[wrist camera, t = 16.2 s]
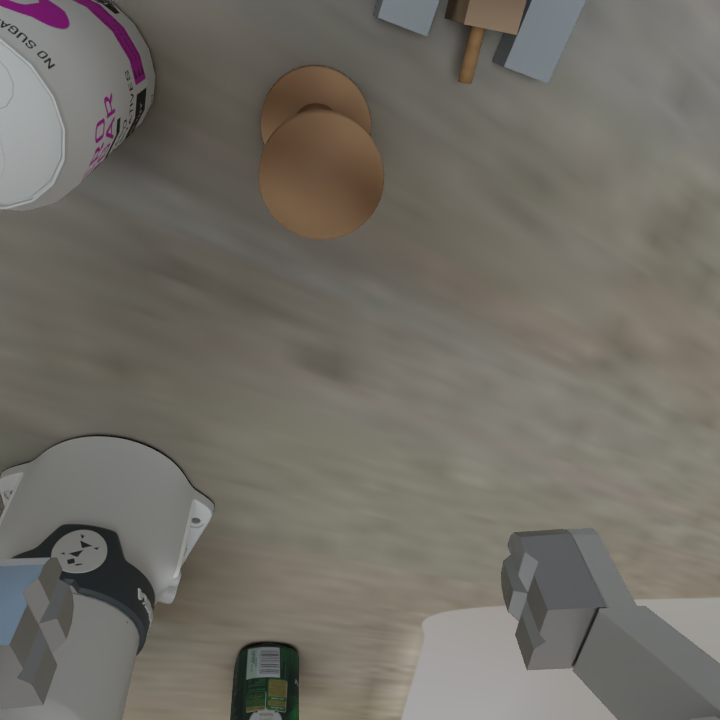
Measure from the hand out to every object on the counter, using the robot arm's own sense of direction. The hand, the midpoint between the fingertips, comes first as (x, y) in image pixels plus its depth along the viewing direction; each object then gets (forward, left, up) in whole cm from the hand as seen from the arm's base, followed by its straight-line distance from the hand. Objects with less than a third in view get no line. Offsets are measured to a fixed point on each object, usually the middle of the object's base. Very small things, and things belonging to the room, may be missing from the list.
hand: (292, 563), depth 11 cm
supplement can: (0, +13, -33) cm, 36 cm away
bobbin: (+1, -1, -33) cm, 33 cm away
